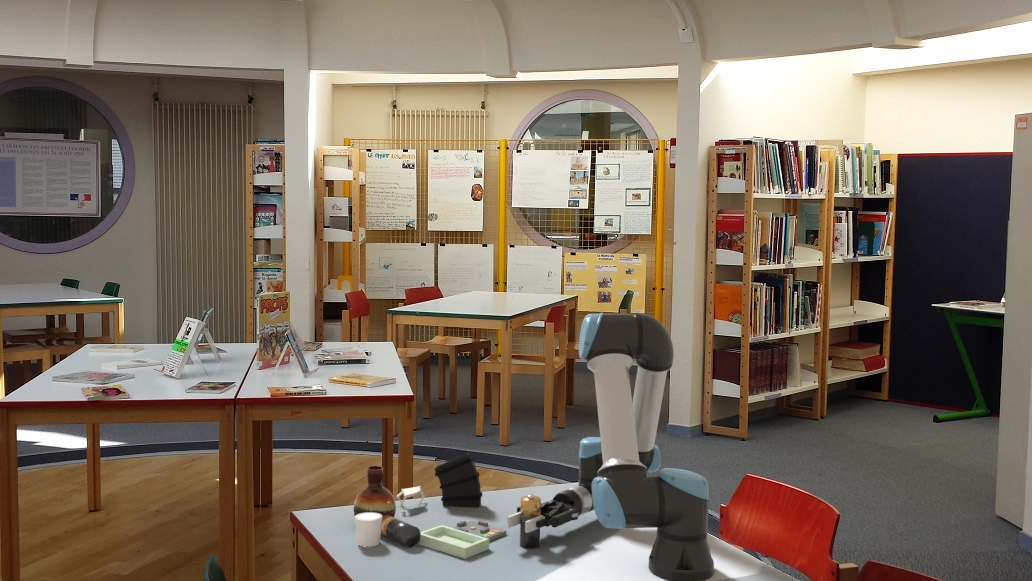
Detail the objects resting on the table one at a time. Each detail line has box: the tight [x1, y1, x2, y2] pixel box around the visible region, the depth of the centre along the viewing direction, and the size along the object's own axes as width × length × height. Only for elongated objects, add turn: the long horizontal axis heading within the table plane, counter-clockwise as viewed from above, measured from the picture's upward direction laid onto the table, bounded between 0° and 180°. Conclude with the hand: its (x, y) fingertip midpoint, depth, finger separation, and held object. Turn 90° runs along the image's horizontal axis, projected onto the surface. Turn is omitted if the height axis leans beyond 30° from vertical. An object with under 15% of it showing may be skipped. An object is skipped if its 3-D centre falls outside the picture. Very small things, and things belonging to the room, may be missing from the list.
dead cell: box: [381, 515, 421, 548], centre depth 234 cm, size 13×5×5 cm, turn 42°
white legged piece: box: [396, 485, 426, 513], centre depth 261 cm, size 12×8×5 cm
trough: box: [416, 524, 490, 560], centre depth 231 cm, size 16×9×3 cm, turn 52°
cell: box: [519, 493, 542, 550], centre depth 232 cm, size 5×5×13 cm
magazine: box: [433, 452, 483, 509], centre depth 264 cm, size 4×13×15 cm, turn 83°
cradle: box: [452, 520, 507, 542], centre depth 240 cm, size 12×9×2 cm
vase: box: [353, 465, 397, 518], centre depth 246 cm, size 11×11×15 cm
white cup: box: [354, 512, 382, 547], centre depth 232 cm, size 7×7×7 cm
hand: (517, 524), depth 228 cm, fingers closed on cell, 5 cm apart
